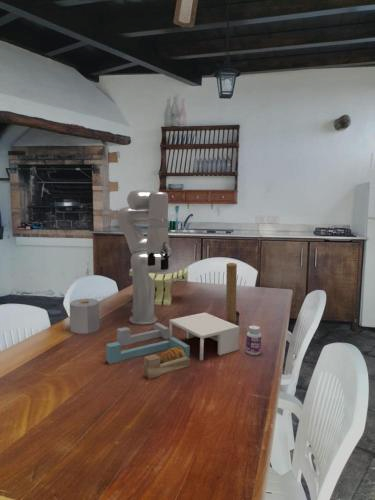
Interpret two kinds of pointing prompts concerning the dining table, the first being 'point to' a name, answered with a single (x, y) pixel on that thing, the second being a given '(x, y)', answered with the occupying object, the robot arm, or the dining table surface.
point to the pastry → (172, 354)
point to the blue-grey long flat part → (142, 350)
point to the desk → (209, 331)
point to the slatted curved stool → (168, 282)
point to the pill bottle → (253, 340)
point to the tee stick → (141, 334)
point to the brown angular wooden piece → (162, 365)
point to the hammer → (231, 294)
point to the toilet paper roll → (84, 316)
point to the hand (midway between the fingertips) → (157, 267)
